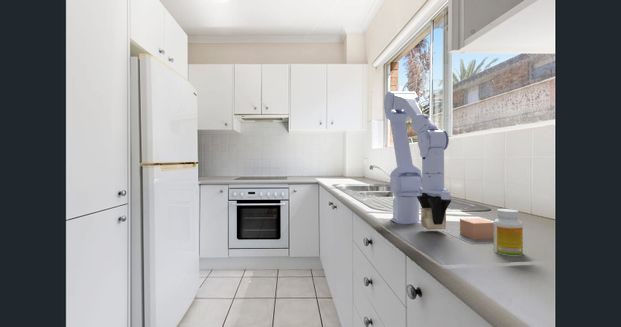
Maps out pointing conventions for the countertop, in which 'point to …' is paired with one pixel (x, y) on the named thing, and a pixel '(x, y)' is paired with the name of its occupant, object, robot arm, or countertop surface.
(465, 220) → the base block
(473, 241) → the baseplate
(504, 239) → the supplement bottle
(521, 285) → the countertop surface
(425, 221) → the birch block
